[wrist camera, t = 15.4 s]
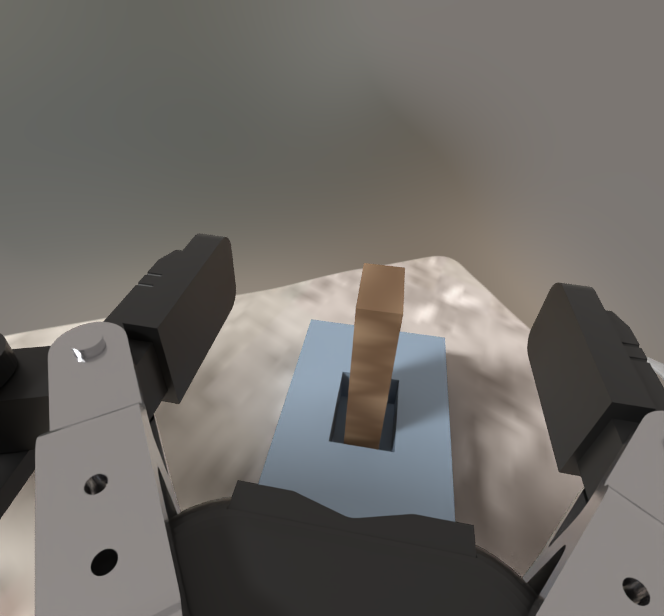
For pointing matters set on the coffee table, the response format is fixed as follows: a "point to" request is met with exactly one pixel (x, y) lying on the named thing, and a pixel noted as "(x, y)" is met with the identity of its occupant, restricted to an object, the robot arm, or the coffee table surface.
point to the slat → (373, 352)
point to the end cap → (396, 438)
